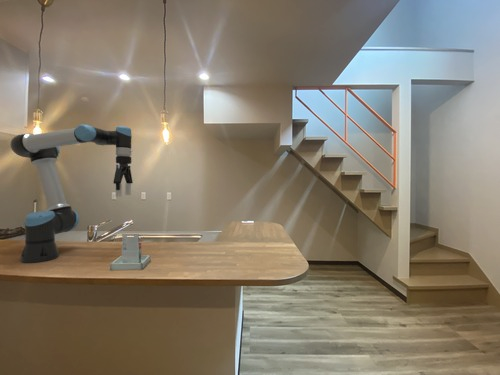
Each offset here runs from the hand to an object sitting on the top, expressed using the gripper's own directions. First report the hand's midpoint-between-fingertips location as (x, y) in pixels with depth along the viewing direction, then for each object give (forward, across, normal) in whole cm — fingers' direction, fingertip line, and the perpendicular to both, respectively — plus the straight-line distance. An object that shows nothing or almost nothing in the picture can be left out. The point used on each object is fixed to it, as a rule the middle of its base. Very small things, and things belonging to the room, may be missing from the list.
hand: (123, 195), depth 143 cm
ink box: (+31, -19, -11) cm, 38 cm away
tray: (+32, -19, -10) cm, 38 cm away
